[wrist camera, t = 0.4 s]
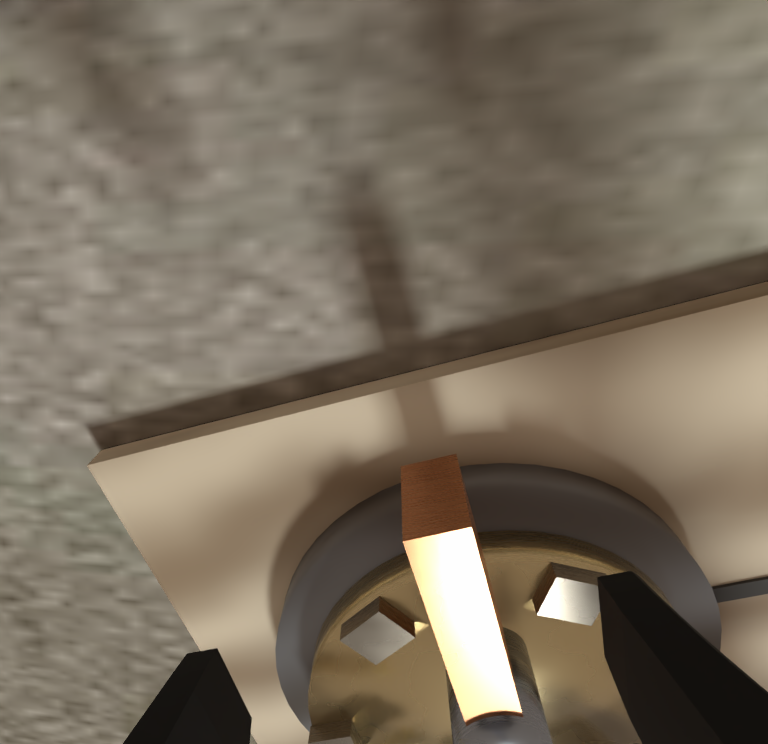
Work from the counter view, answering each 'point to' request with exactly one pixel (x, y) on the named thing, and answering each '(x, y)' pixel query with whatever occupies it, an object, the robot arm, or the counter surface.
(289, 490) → the nut base
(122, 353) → the counter surface
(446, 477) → the studded brass disc
